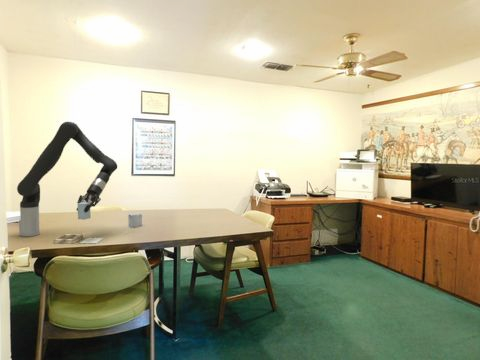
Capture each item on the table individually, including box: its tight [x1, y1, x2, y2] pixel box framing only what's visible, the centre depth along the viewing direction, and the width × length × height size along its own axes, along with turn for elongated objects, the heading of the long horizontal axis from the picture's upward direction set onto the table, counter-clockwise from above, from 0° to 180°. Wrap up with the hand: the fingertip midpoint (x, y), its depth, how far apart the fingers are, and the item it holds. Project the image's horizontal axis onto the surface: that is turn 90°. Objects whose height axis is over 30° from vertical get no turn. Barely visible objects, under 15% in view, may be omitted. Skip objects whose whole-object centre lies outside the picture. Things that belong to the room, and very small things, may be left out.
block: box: [77, 201, 92, 221], centre depth 172 cm, size 4×4×9 cm
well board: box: [52, 233, 84, 245], centre depth 173 cm, size 11×11×2 cm
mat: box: [79, 237, 104, 245], centre depth 174 cm, size 9×10×1 cm
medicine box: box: [127, 212, 143, 229], centre depth 210 cm, size 8×4×9 cm, turn 141°
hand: (81, 211), depth 170 cm, fingers closed on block, 4 cm apart
